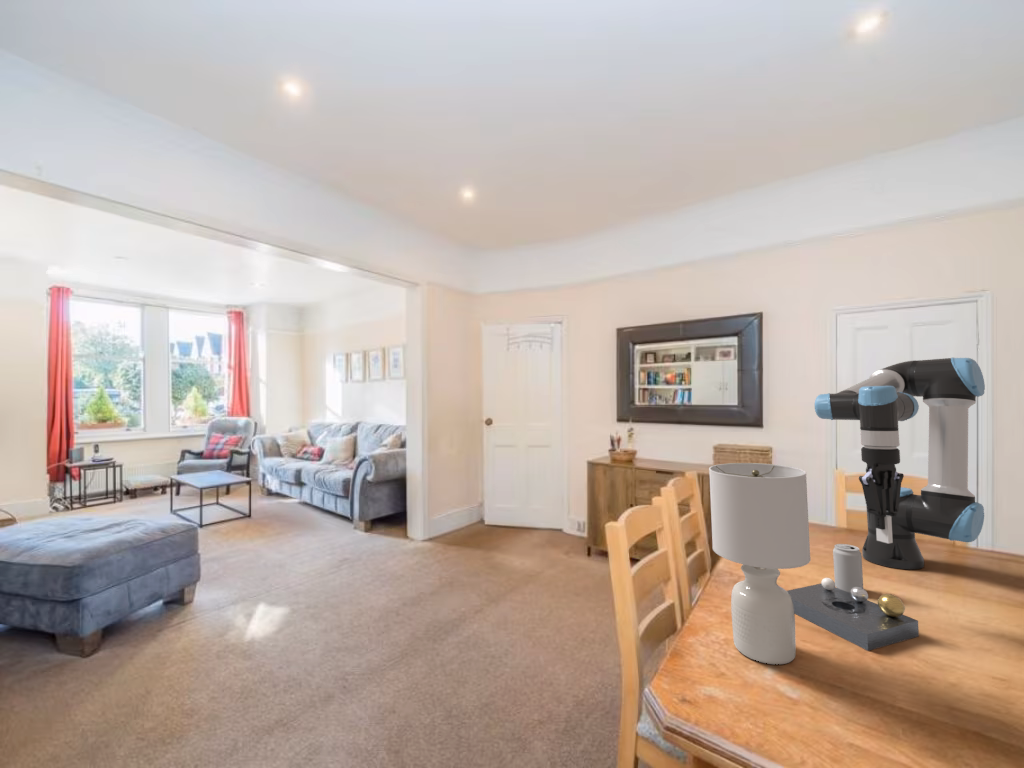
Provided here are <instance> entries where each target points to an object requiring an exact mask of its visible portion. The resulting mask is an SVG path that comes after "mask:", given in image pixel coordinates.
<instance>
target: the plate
mask: <svg viewBox="0 0 1024 768" xmlns="http://www.w3.org/2000/svg"><path fill="white" fill-rule="evenodd" d="M786 591H787V592H788V593H789V594H790V596H791V598H792V601H793V606H794V614H795V615H797V616H798V617H801V618H802V619H805V620H806V621H808V622H810V623H812V624H814V625H816V626H818V627H820V628H822V629H824V630H826V631H828V632H830V633H832V634H834V635H836V636H838V637H840V638H842V639H844V640H846V641H847V642H850V643H851V644H854V645H855V646H858V647H859V648H862V649H864V650H866V651H868V652H870V651H871V650H876V649H880V648H883V647H887V646H889V645H894V644H896V643H900V642H903V641H904V642H905V641H907V640H910V639H915V638H917V637H918V638H919V636H920V635H919V634H920V631H919V620H917V619H915V618H913V617H911V616H908V615H906V614H904V613H903V614H902V615H901V616H899V617H891V616H888V615H886V614H884V613H883V612H882V611H881V610H880V608H879V606H878V603H875V602H873V601H871V600H868V599H867V601H865V602H857V601H856V600H854V599H853V598H852V596H851V594H850V593H849V592H846V591H844V590H841V589H839V588H837V587H836V586H835V588H834V589H833V590H827V589H825V588H824V587H823V586H822V584H821V583H816V584H812V585H808V586H801V587H798V588H794V589H788V590H786Z"/></svg>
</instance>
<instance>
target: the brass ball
mask: <svg viewBox="0 0 1024 768" xmlns="http://www.w3.org/2000/svg"><path fill="white" fill-rule="evenodd" d="M877 604H878V606H879V608H880V610H881V611H882V612H883V613H884V614H886V615H888V616H891V617H899V616H901V615H902V614H903V615H904V613H905V610H906V607H905V604H904V603H903V600H901V599H900V598H899V597H898V596H896V595H895V594H891V593H884V594H882V595H880V596H879V597H878V598H877Z"/></svg>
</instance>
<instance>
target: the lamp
mask: <svg viewBox="0 0 1024 768" xmlns="http://www.w3.org/2000/svg"><path fill="white" fill-rule="evenodd" d="M708 473H709V492H710V494H709V495H710V496H709V497H710V514H711V515H710V517H711V520H710V521H711V537H712V551H713V552H714V553H715V554H717V556H719V557H722V558H723V559H726V560H728V561H731V562H733V563H736V564H741V566H740V569H741V571H742V573H743V575H744V580H741V581H738V582H737V583H735V584H734V586H732V587H733V588H732V590H731V596H730V597H731V600H730V605H731V611H730V613H731V623H732V624H731V625H732V637H733V643H734V646H735V648H736V649H737V650H738V651H739V653H741V654H742V655H744V656H745V657H747V658H748V659H751V660H753V661H755V660H756V662H758V661H759V663H762V664H766V663H767V664H768V665H775V664H776V665H777V666H778V664H779V665H784V664H785V665H786V664H789V663H791V662H792V661H793V660H794V659H795V658H796V653H797V649H796V646H797V645H796V644H797V643H796V618H795V615H796V614H794V606H793V601H792V598H791V596H790V594H789V593H788V592H787V591H788V590H786V589H785V588H783V587H782V586H781V585H779V584H777V583H778V582H777V580H778V578H779V577H780V575H781V572H780V571H781V570H787V569H796V568H802V567H804V566H807V565H808V564H810V562H811V549H810V548H811V545H810V525H809V504H808V503H809V502H808V487H807V486H808V485H807V471H806V470H804V469H801V468H799V467H793V466H789V465H781V464H772V463H770V464H769V463H753V462H741V463H740V462H739V463H738V462H736V463H733V462H732V463H720V464H715V465H711V466H709V468H708ZM767 664H766V665H767Z"/></svg>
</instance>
